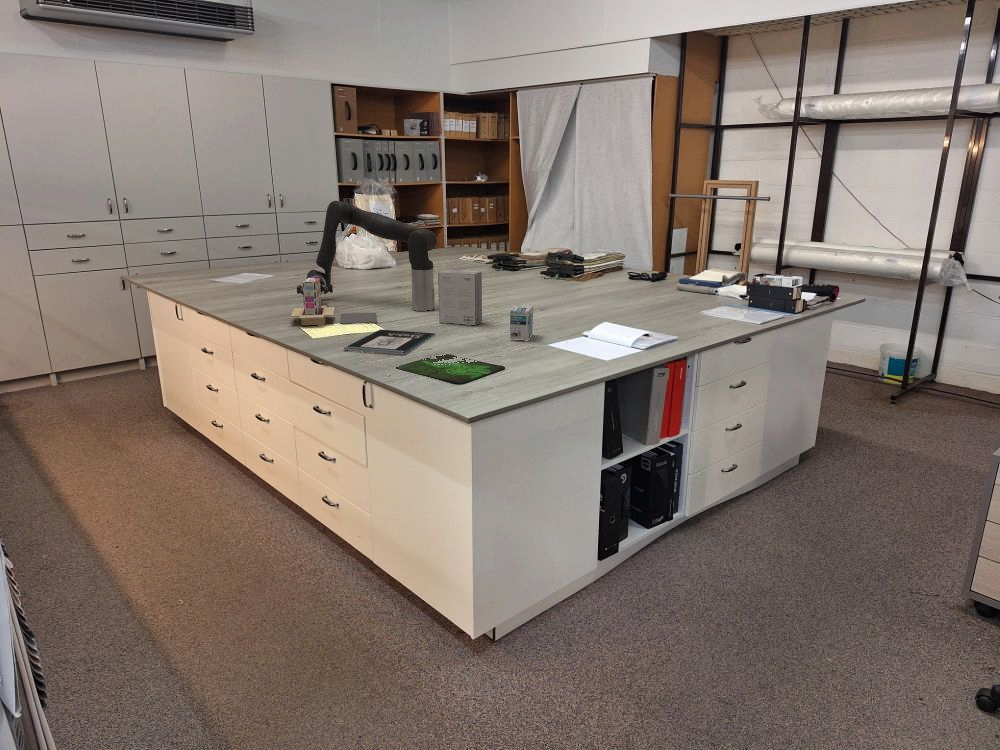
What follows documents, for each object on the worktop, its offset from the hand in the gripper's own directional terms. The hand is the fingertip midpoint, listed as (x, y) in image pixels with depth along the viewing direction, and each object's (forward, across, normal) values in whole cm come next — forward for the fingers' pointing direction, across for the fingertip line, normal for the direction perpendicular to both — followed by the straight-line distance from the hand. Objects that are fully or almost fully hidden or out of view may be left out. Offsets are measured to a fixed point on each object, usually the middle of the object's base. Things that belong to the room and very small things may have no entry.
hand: (314, 292), depth 270 cm
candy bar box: (+11, 0, +10) cm, 15 cm away
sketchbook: (+49, +28, +10) cm, 57 cm away
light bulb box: (+49, +74, +10) cm, 89 cm away
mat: (+9, +17, +10) cm, 21 cm away
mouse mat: (+83, +44, +10) cm, 94 cm away
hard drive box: (+22, +56, +10) cm, 61 cm away
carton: (+11, 0, +10) cm, 15 cm away
